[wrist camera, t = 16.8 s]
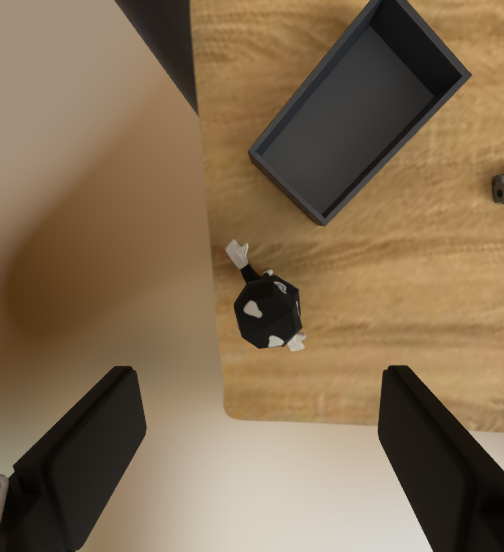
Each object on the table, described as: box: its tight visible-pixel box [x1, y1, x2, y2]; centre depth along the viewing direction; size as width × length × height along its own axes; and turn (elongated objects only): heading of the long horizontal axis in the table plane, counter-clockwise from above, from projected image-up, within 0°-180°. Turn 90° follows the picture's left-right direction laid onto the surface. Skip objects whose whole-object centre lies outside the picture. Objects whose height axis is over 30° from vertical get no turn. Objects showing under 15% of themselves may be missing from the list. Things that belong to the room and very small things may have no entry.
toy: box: [225, 239, 306, 351], centre depth 25 cm, size 13×6×15 cm, turn 33°
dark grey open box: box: [248, 0, 472, 226], centre depth 26 cm, size 11×18×4 cm, turn 138°
